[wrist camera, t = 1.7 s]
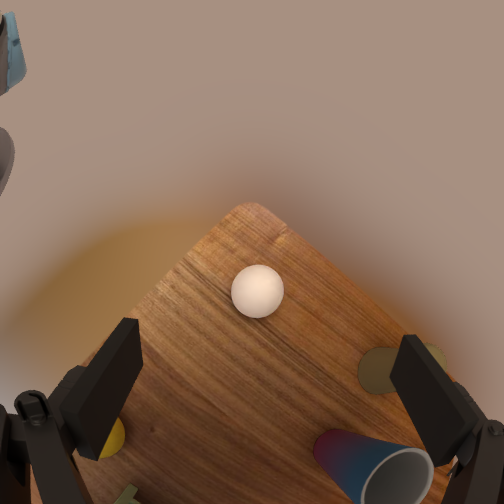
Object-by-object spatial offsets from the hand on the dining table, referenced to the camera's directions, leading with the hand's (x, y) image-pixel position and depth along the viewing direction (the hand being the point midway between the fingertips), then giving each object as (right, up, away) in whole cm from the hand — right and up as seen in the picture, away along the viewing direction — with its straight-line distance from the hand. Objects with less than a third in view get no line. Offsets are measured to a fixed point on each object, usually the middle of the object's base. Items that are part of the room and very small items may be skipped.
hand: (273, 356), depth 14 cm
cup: (+8, -18, +16) cm, 26 cm away
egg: (-1, 0, +22) cm, 22 cm away
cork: (+15, -10, +20) cm, 27 cm away
